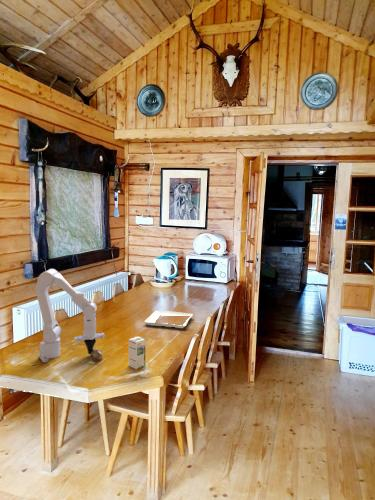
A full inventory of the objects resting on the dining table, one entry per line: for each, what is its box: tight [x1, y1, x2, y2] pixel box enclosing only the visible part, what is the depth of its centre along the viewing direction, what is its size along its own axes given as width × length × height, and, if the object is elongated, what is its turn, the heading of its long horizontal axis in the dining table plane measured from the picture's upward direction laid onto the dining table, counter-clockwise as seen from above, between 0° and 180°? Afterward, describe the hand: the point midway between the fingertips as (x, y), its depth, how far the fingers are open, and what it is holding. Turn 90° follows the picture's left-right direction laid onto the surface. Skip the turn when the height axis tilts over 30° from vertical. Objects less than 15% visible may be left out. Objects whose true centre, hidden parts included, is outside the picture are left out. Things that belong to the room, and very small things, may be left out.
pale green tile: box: [87, 360, 96, 365], centre depth 176 cm, size 2×3×1 cm
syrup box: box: [128, 336, 147, 370], centre depth 175 cm, size 6×6×14 cm
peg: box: [90, 346, 103, 362], centre depth 181 cm, size 4×12×5 cm, turn 36°
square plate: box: [143, 310, 194, 329], centre depth 247 cm, size 27×27×4 cm
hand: (89, 353), depth 184 cm, fingers closed
